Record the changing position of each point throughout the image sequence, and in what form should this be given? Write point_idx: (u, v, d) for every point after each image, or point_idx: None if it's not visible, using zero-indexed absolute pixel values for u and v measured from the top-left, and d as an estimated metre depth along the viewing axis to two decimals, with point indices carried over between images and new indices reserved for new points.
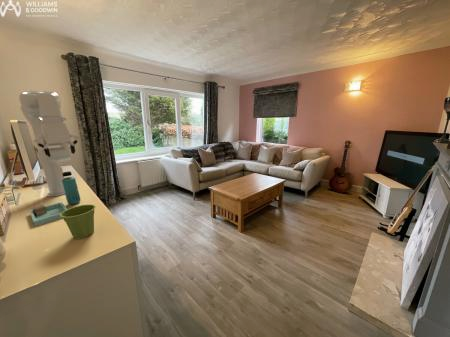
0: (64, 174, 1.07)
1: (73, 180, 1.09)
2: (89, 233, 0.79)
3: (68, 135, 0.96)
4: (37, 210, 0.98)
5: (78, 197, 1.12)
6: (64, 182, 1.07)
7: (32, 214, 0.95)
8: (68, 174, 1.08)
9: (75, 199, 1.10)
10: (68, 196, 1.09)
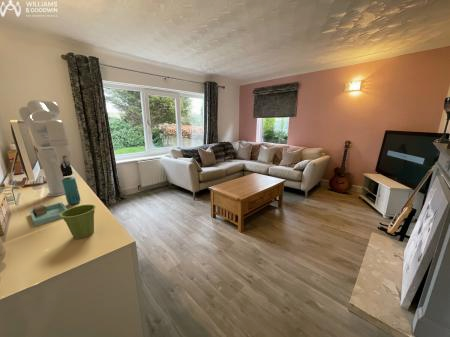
0: (64, 174, 1.07)
1: (73, 180, 1.09)
2: (89, 233, 0.79)
3: None
4: (37, 210, 0.98)
5: (78, 197, 1.12)
6: (64, 182, 1.07)
7: (32, 214, 0.95)
8: None
9: (75, 199, 1.10)
10: (68, 196, 1.09)
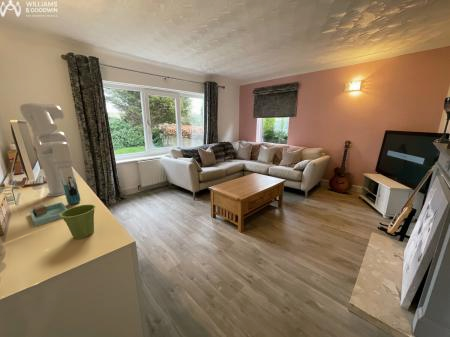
0: None
1: None
2: (89, 233, 0.79)
3: None
4: (37, 210, 0.98)
5: (78, 197, 1.12)
6: None
7: (32, 214, 0.95)
8: None
9: (75, 199, 1.10)
10: (68, 196, 1.09)
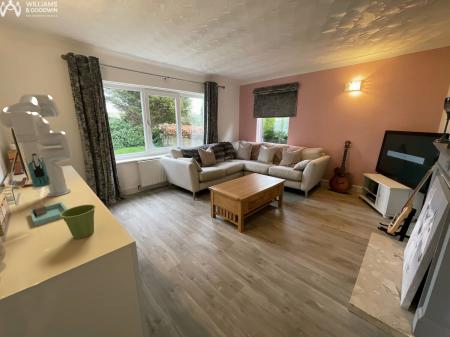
0: None
1: None
2: (89, 233, 0.79)
3: None
4: (37, 210, 0.98)
5: (47, 180, 0.93)
6: None
7: (32, 214, 0.95)
8: None
9: (42, 182, 0.92)
10: (33, 178, 0.90)
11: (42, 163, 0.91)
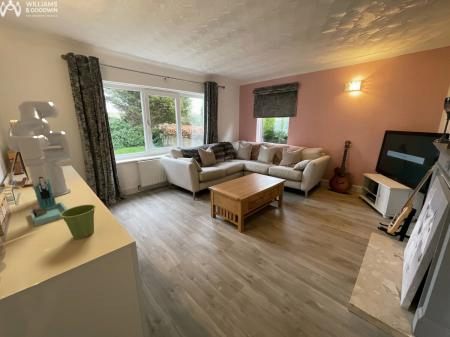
0: None
1: None
2: (89, 233, 0.79)
3: None
4: (37, 210, 0.98)
5: (52, 200, 0.96)
6: None
7: (32, 214, 0.95)
8: None
9: (48, 203, 0.94)
10: (40, 199, 0.92)
11: (48, 185, 0.94)
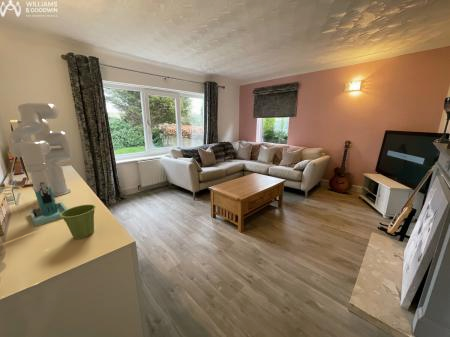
0: None
1: None
2: (89, 233, 0.79)
3: None
4: (37, 210, 0.98)
5: (54, 208, 0.97)
6: None
7: (32, 214, 0.95)
8: None
9: (50, 210, 0.95)
10: (42, 207, 0.93)
11: (50, 192, 0.95)
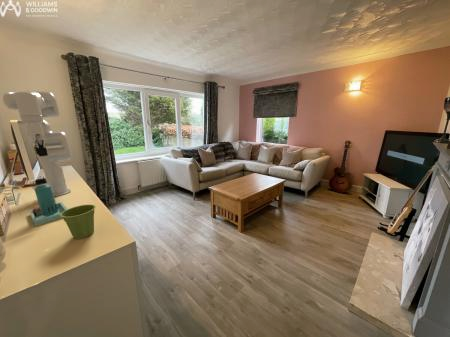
0: (37, 182, 0.91)
1: (48, 188, 0.94)
2: (89, 233, 0.79)
3: None
4: (37, 210, 0.98)
5: (55, 208, 0.97)
6: (37, 191, 0.91)
7: (32, 214, 0.95)
8: (42, 181, 0.92)
9: (51, 211, 0.95)
10: (42, 207, 0.94)
11: (50, 192, 0.95)
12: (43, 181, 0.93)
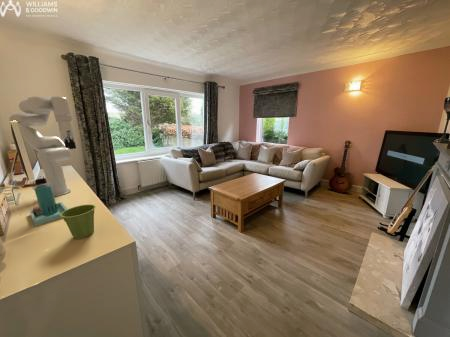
0: (37, 182, 0.91)
1: (48, 188, 0.94)
2: (89, 233, 0.79)
3: None
4: (37, 210, 0.98)
5: (55, 208, 0.97)
6: (37, 191, 0.91)
7: (32, 214, 0.95)
8: (42, 181, 0.92)
9: (51, 211, 0.95)
10: (42, 207, 0.94)
11: (50, 192, 0.95)
12: (43, 181, 0.93)
